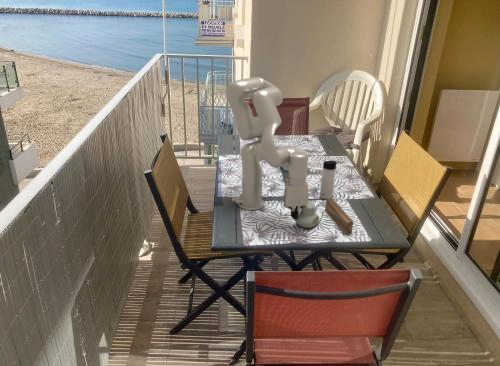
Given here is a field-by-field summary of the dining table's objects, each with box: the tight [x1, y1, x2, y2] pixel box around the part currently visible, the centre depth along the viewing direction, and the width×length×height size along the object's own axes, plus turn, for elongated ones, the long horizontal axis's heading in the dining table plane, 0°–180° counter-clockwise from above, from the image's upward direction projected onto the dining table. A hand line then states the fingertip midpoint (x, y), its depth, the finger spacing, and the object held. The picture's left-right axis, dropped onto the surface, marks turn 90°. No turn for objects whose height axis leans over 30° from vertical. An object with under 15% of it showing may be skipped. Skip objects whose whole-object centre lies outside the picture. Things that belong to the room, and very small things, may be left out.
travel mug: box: [319, 160, 337, 201], centre depth 206 cm, size 6×7×20 cm
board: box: [325, 197, 354, 235], centre depth 188 cm, size 3×22×6 cm, turn 14°
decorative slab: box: [280, 164, 315, 176], centre depth 246 cm, size 26×24×2 cm
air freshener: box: [294, 201, 320, 229], centre depth 184 cm, size 11×8×10 cm
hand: (294, 217), depth 183 cm, fingers closed
